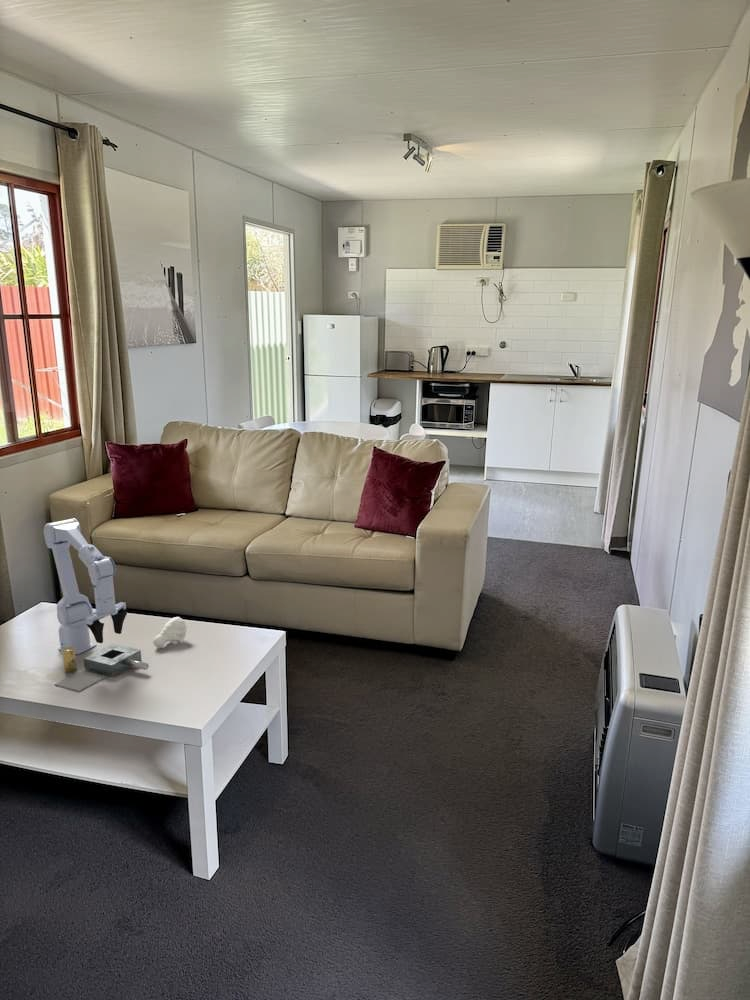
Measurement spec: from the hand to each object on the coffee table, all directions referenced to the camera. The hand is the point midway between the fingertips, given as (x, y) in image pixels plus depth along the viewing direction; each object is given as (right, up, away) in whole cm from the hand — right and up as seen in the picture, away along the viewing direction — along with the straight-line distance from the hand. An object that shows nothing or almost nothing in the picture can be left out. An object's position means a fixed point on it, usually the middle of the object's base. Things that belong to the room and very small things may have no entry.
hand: (109, 637), depth 218 cm
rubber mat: (-6, -12, -8) cm, 15 cm away
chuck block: (+4, -10, +1) cm, 11 cm away
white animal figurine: (+14, -6, +18) cm, 23 cm away
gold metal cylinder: (-12, -10, 0) cm, 16 cm away
